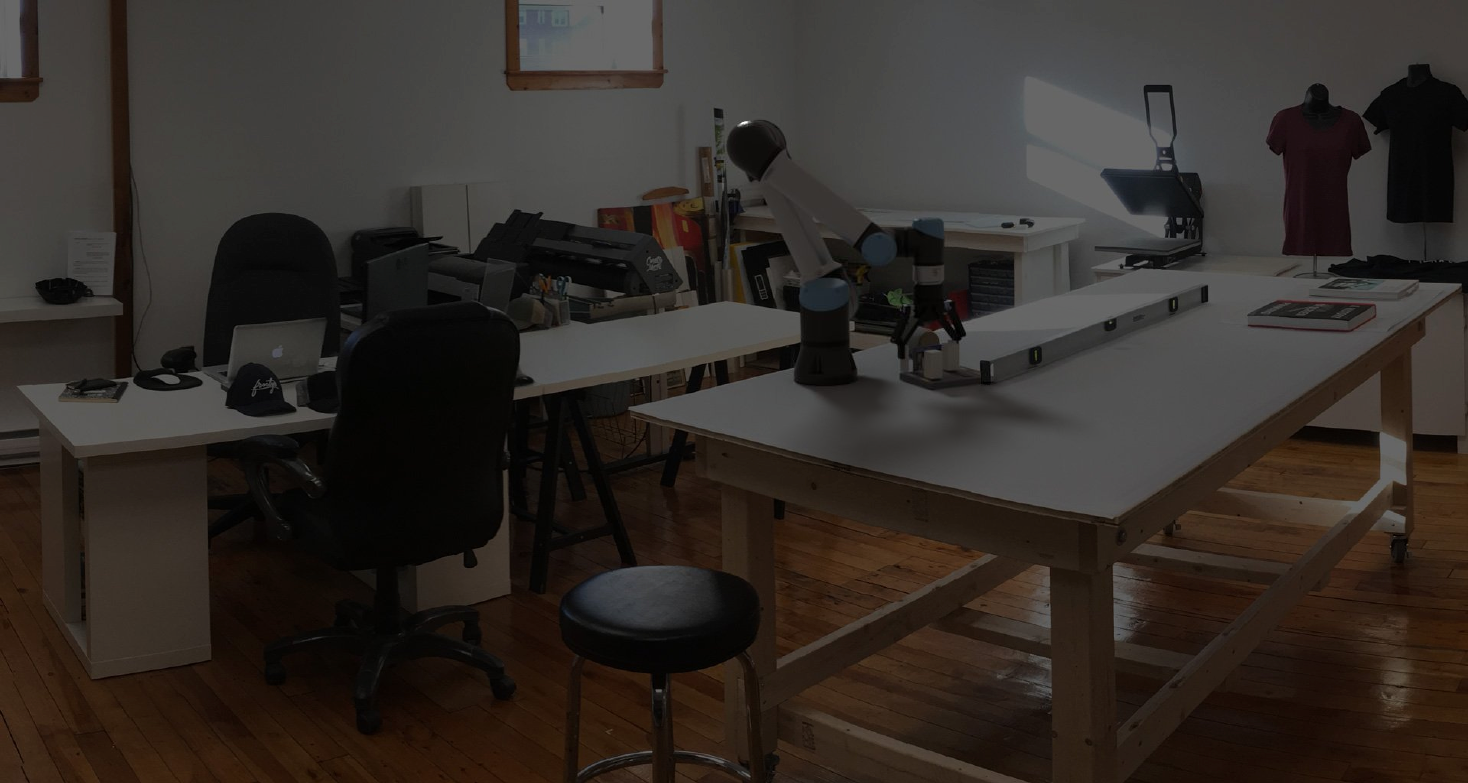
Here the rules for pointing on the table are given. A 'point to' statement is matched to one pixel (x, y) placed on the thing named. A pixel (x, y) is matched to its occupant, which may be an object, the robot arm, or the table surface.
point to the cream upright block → (933, 364)
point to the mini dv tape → (922, 355)
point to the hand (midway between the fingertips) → (928, 369)
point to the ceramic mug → (922, 338)
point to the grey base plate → (944, 378)
